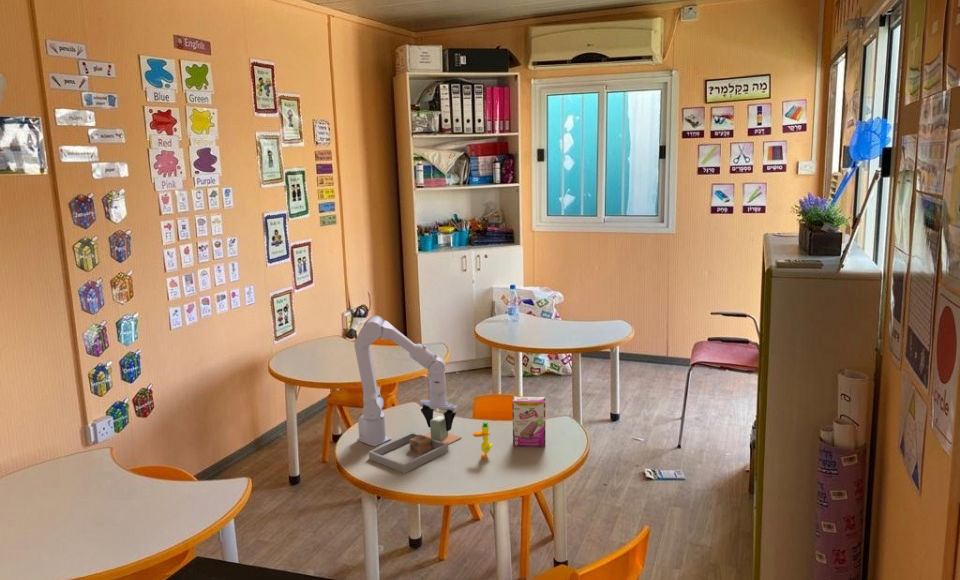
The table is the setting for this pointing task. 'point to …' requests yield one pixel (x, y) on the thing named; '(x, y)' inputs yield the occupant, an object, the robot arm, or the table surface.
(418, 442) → the walnut block
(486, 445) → the toy figure
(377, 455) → the parts bin
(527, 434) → the candy bar box
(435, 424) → the labelled box
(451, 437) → the mat
